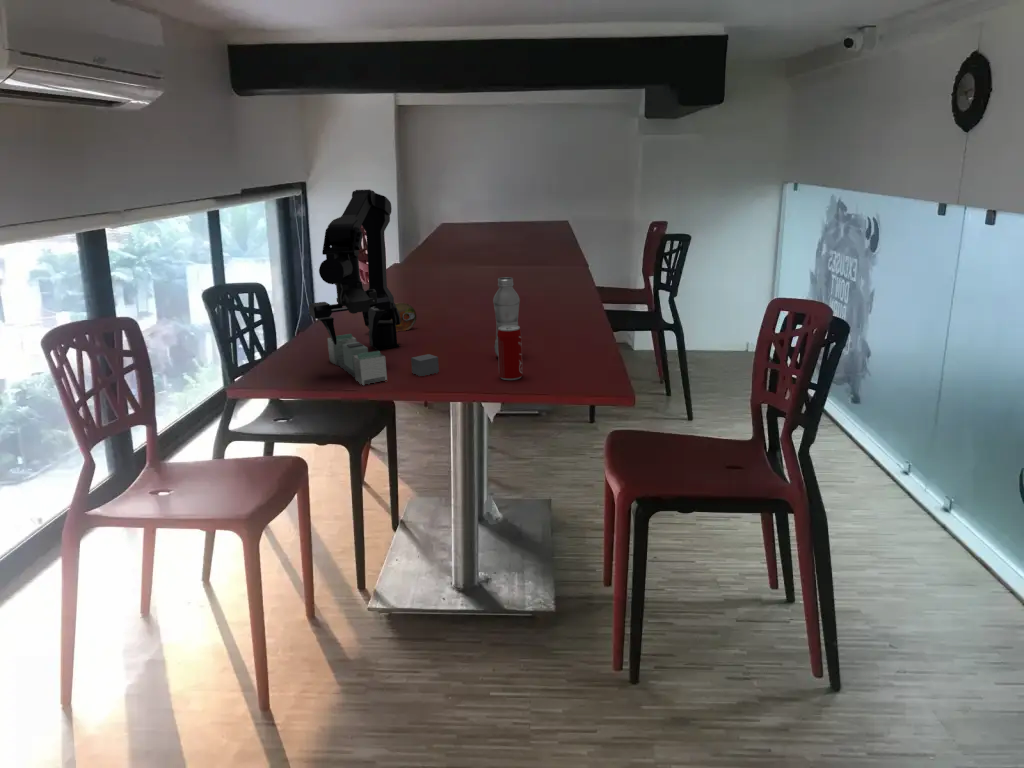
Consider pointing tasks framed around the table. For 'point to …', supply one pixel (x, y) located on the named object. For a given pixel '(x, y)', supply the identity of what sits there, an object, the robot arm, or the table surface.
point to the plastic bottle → (505, 305)
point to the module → (352, 352)
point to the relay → (425, 365)
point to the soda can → (510, 352)
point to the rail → (358, 361)
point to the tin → (405, 317)
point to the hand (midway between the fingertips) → (353, 341)
